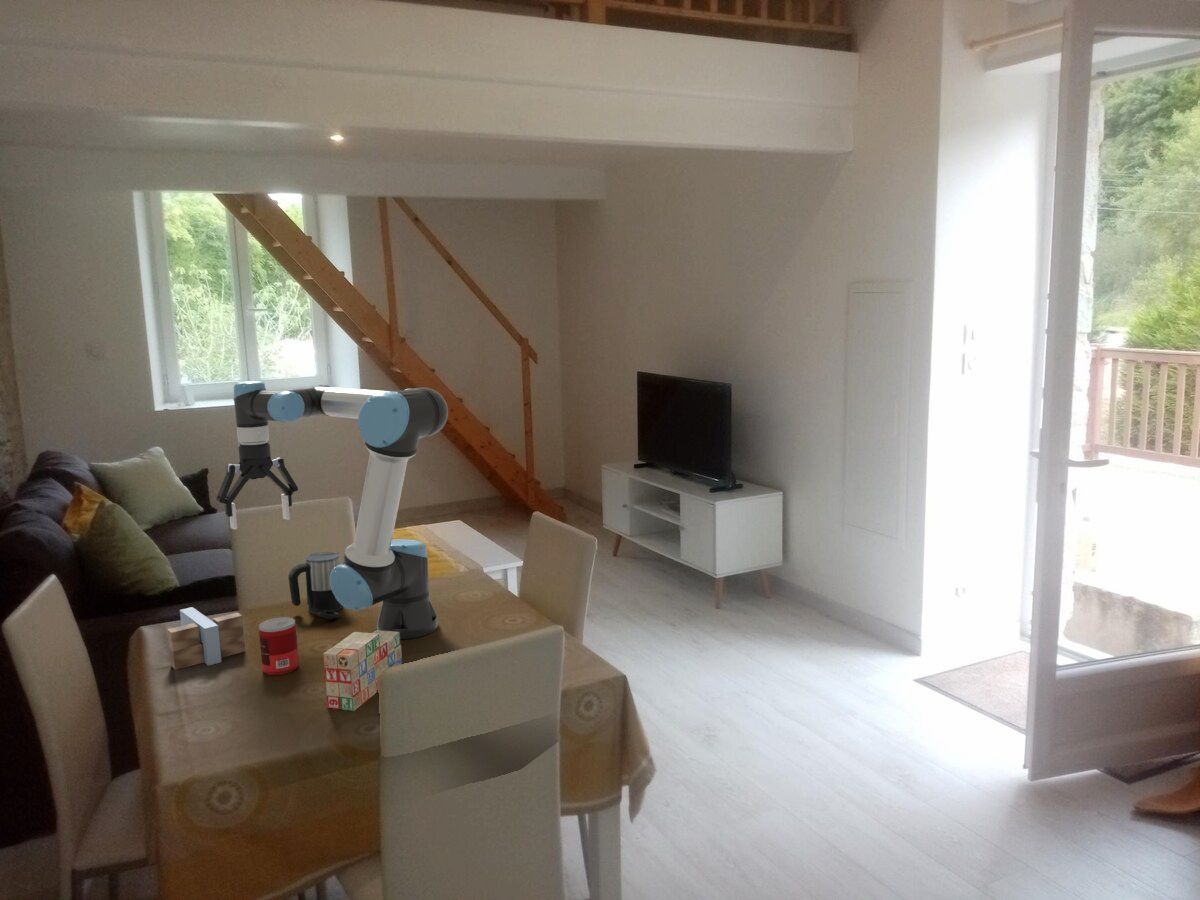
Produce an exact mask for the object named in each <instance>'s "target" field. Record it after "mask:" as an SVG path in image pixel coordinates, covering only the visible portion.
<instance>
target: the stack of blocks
mask: <svg viewBox="0 0 1200 900" xmlns="http://www.w3.org/2000/svg"><path fill="white" fill-rule="evenodd" d="M402 657H403V654H402V644H401V639H400V632H393V631H379V630H374V631H372V632H360V631H353V632H352V633H351V634H349V635H348V636H346V637H345V638H344V639H342V640H341V641H340V642H338V643H337V644H335V645H334V646H332V647H331V648H329V649H328V650H326V651H325V652H323V662H324V663H323V665H324V668H323V670H324V671H323V672H324V681H325V689H326V706H327V707H326V708H327V709H329V708H333V709H332V710H338V709H342V711H348V710H350V712H355V711H356V710H357V709H358V708H360V707H361V706H362V705H364V703H366V702H367V701H368V700H369V699H371V698H372V697H373V696H374V695H375V694H377V692H378V691H377V683H378V678H379V677H380V675H381V674H382V672H383V671H384V670H385V669H387V668H389V667H392V666H395V665H399V664H402V665H403V658H402Z"/></svg>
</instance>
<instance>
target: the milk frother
mask: <svg viewBox="0 0 1200 900" xmlns="http://www.w3.org/2000/svg"><path fill="white" fill-rule="evenodd" d="M340 556H341V554H340V553H339V552H333V551H325V552H324V551H323V552H316V553H311V554H308V555H306V556H305V557H304V559H305V561H306V562H303V563H300V564H297V565H295V566H293V567H292V569H290V570H289V572H288V585H289V592H290V598H291V603H292V604H293V606H296V607H298V606H301V594H300V586H299V576H300V575H301V574H302V573H305V584H306V600H307V601H306V602H307V606H308V608H307V612H308V613H309V614H312V615H316V616H319V617H323V618H325V619H328V620H329V621H332V620H333V619H337V618H339V617H340V614H339V612H336V611H340V610H341V609H343V607H344V606H342V605H341V604H340V603H339V602H338V601H337V599H336V598H335V595H334V594H333V592H332V590H331V586H330V574H331V572H332V570H333V569H334V568H335V567H336V566H337V565H339V564H340Z"/></svg>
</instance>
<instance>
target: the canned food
mask: <svg viewBox="0 0 1200 900" xmlns="http://www.w3.org/2000/svg"><path fill="white" fill-rule="evenodd" d="M296 624H297V623H296V620H295V619H294V618H292V617H285V616H283V617H281V616H280V617H274V618H270V619H267V620H264V621H262V622H261V623H260V624H258V634H259V635H258V636H259V646H260V647H259V648H260V656H261V667H262V672H263V673H264V674H266V675H269V676H280V675H286V674H289V673H291V672H293V671H295V670H296V669H298V666H299V651H298V637H297V636H298V635H297V626H296Z"/></svg>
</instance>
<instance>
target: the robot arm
mask: <svg viewBox="0 0 1200 900" xmlns="http://www.w3.org/2000/svg"><path fill="white" fill-rule="evenodd" d="M265 384H266V383H265V382H264V381H260V380H259V381H258V380H253V381H252V380H250V381H249V380H248V381H239V382H236V383H235V384H234V385H233V404H234V412H235V413H234V414H235V423H236V431H237V432H236V433H237V435H236V436H237V443H239V444H238V446H237V447H238V448H237V450H238V458H239V462H238V464H232V463H228V464H227V465H226V474H225V476H224V479H223V481H222V483H221V485H220V488H219V491H218V494H217V495H216V498H215V501H216V502H218V503H220V504H223V505H224V512H225V516H226V517H228V518H229V523H230V529H232V530H234V531H235V530H238V519H237V508H236V503H235V502H234V500H235V499H236V497H237V496H238V494H239V493H240V492H241V491H242V489H243V487H244V486H245V485H246V483H248V481H250V480H251V481H252V480H253V481H254V480H256V479H265V478H268V479H269V480H270V481H271V482H272V484H273V485H276V487H277V488H278V489H279V490H280V491H282V492H283V493H281V494H280V497H281V498H280V500H281V511H282V519H283V520H286V521H290V520H291V515H290V507H292V505H293V499H292V495H294V493H295V492H297V491H299V487H298V486H297V483H296V482H295V481H294V479H293V477H292V476H291V474H290V472H289V471H288V469H287V467H286V466H285V461H284V459H283V458H282V457H279V456H278V457H275V459H272V458H271V457H272V456H271V445H270V442H269V440H270V431H269V421H270V422H280V423H292V422H296V421H298V420H299V419H303V418H309V417H315V416H323V417H333V418H345V419H356V420H357V425H358V429H359V430H360V432H359V433H360V436H361V438H362V440H363V441H364V447H365V448H366V449H367V451H368V452H369V456H368V463H367V468H366V471H365V472H366V473H365V480H364V484H363V488H362V489H363V490H362V494H361V500H360V505H359V510H358V511H359V512H358V515H357V522H356V527H355V532H354V538H353V543H351V544H350V545H348V546H346V548H345V550H344V556H343V561H342V562H341V564H340V563H339V565H337V566H336V567H335V568H334V569H333V570H332V572H331V574H330V586H331V590H332V592H333V594H334V595H335V598H336V599H337V601H338V602H339V603H340V604H341V605H342V606H343V607H344V608H345V609H347V610H350V611H353V612H354V611H356V612H357V611H360V610H363V609H369V608H370V607H372V606H375V605H376V604H378V603H381V602H382V603H381V607H380V611H379V615H378V619H377V621H376V622H377V623H376V629H377V630H379V631H393V632H400V640H407V639H415V638H420V637H425V636H427V635H429V634H431V633H433V632H435V631H436V630H437V629H438V626H439V624H438V616H437V613H436V611H435V608H434V606H433V604H432V603H433V602H432V601H431V598H430V584H429V582H430V581H429V561H428V560H429V556H428V552H427V546H426V544H425V543H424V542H422V541H419V540H416V539H406V538H405V539H404V538H401V539H400V538H399V539H397V538H395V539H393V536H394V530H395V525H396V522H397V521H396V520H397V515H398V512H399V506H400V501H401V495H402V491H403V486H404V482H405V476H406V472H407V471H406V469H407V466H408V461H409V460H410V459H411V458H413V457H415V456H416V455H417V451H418V445H419V441H420V439H424V438H427V437H431V436H434V435H435V434H437V433H439V432H440V431H441V430H442V429H443V428H444V426H445V425H446V423H447V421H448V417H449V409H448V408H449V407H448V403H447V402H446V400H445V398H444V396H443V395H442V394H441V393H440V392H438V391H437V390H435V389H432V388H430V387H416V388H413V387H412V388H411V387H410V388H406V389H401V390H377V389H364V388H349V387H337V386H335V385H333V384H319V385H316V386H315V385H314V386H309V387H299V388H289V389H282V390H281V389H280V390H268V389H267V390H266V385H265ZM273 466H274V467H276V468H277V470H278V471H279V473H280V474H281V476H282V477H283V480H284V482H285V483H286V484H284V483H283V482H282V481H281V480H280V479H279V478H278V477H277V476H276V475H275V473H273V472H272V471H271V469H272V467H273ZM238 470H239V471H240V472H241V474H239V476H238V479H237V480H236V482H235V483H234V485H233V486H231V485H232V483H233V480H234V478H235V474H236V473H237V472H238ZM230 488H231V489H230Z"/></svg>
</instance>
